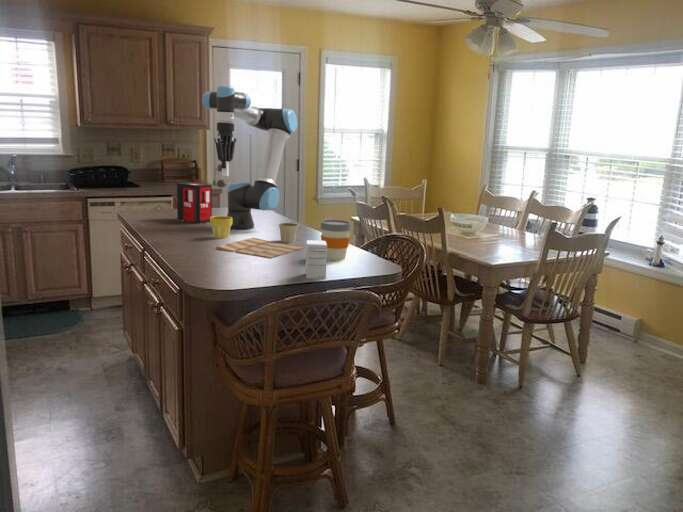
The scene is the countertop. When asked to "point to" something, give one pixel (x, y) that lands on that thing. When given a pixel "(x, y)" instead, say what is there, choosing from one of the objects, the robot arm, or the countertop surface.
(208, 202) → the cleaning product box
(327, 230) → the reusable coffee cup
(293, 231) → the flower pot
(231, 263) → the countertop surface
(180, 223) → the countertop surface
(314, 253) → the supplement box
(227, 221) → the plant pot
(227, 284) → the countertop surface
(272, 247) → the laid floor
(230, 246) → the board
